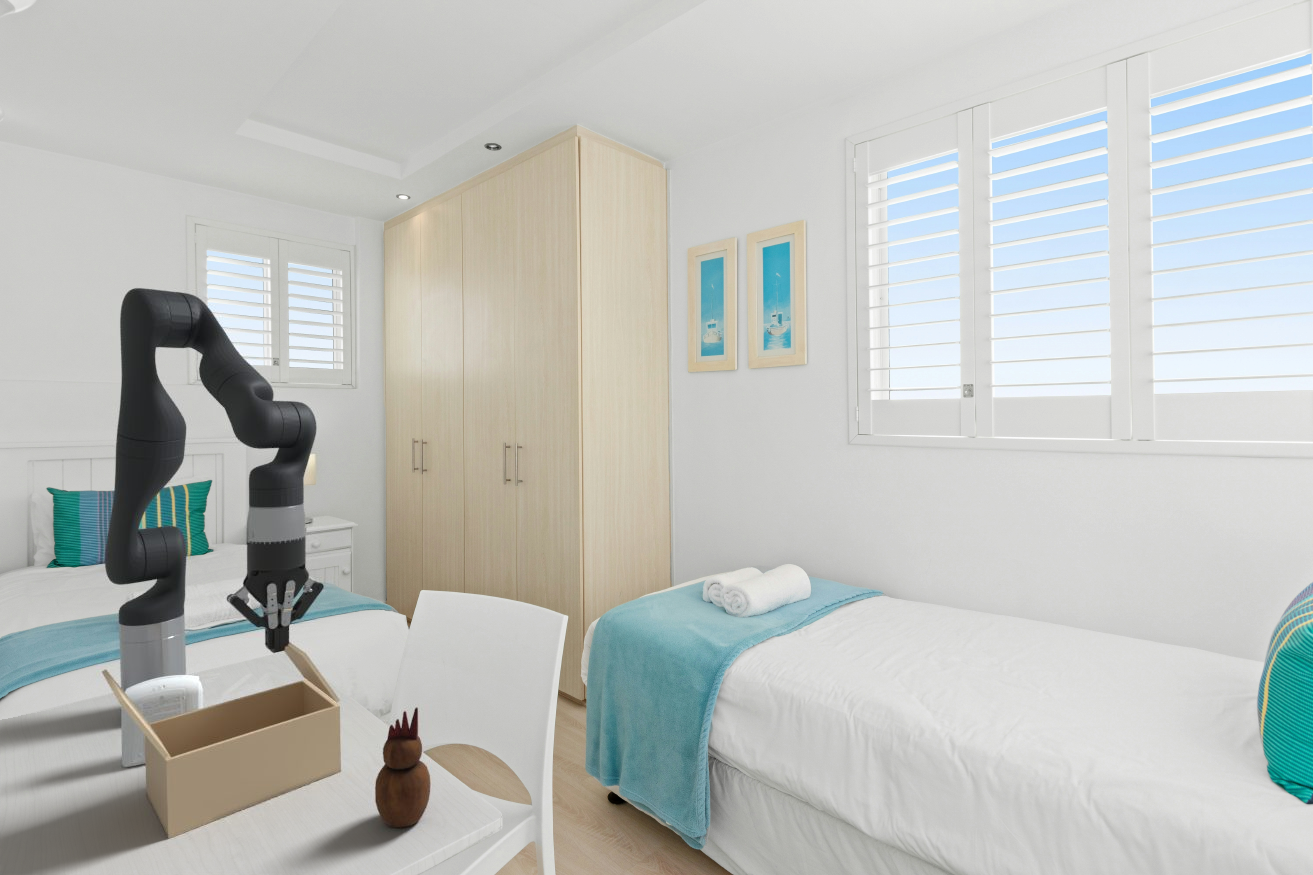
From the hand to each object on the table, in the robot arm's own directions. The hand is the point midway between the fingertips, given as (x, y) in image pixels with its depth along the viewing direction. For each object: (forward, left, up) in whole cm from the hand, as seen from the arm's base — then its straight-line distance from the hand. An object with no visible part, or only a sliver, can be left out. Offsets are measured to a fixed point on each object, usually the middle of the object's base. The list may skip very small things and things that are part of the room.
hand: (277, 650), depth 97 cm
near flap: (0, -17, -3) cm, 17 cm away
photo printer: (-18, -11, -19) cm, 28 cm away
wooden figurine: (+25, +7, -19) cm, 32 cm away
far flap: (0, +4, -3) cm, 5 cm away
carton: (0, -4, -18) cm, 19 cm away
